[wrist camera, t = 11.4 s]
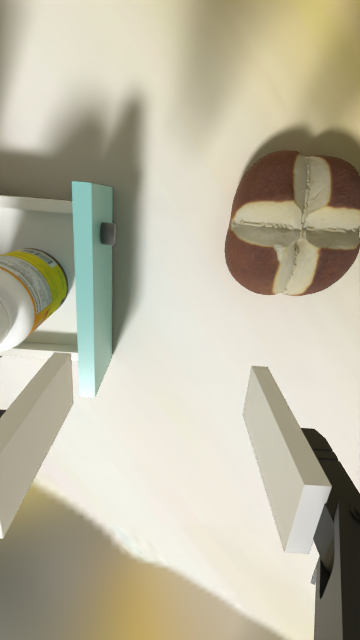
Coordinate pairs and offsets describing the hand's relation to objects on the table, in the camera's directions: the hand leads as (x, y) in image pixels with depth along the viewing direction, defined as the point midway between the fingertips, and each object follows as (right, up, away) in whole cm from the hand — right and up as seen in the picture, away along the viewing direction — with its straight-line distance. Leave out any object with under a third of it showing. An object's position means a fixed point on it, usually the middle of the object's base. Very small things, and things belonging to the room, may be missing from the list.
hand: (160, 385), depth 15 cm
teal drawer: (-12, +7, +13) cm, 19 cm away
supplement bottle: (-11, +6, +12) cm, 17 cm away
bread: (+10, +11, +13) cm, 20 cm away
